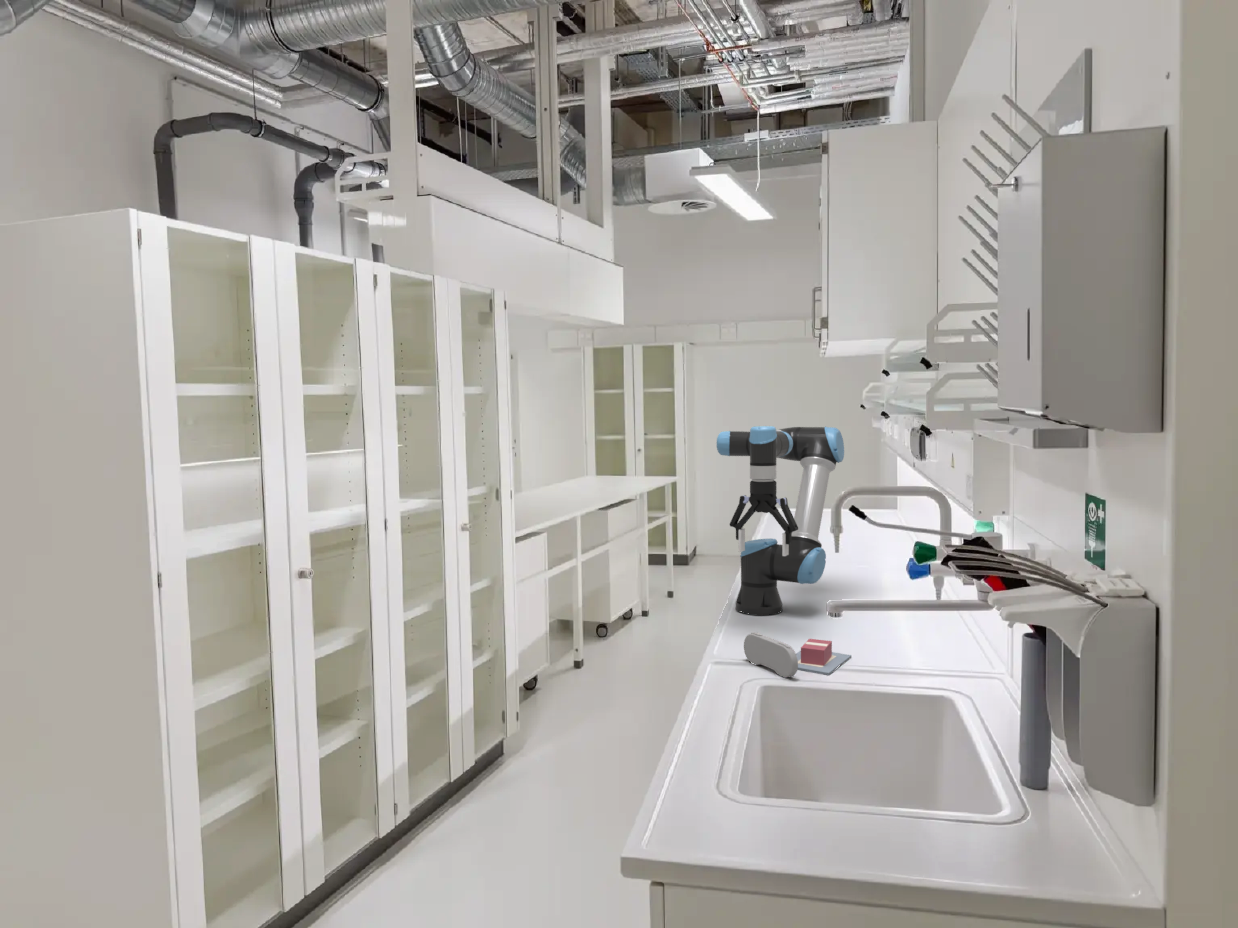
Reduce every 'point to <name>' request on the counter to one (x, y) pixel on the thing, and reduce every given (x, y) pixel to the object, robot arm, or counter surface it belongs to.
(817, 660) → the card deck box
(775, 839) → the counter surface
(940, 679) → the counter surface
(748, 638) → the game controller
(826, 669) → the grey flat board
